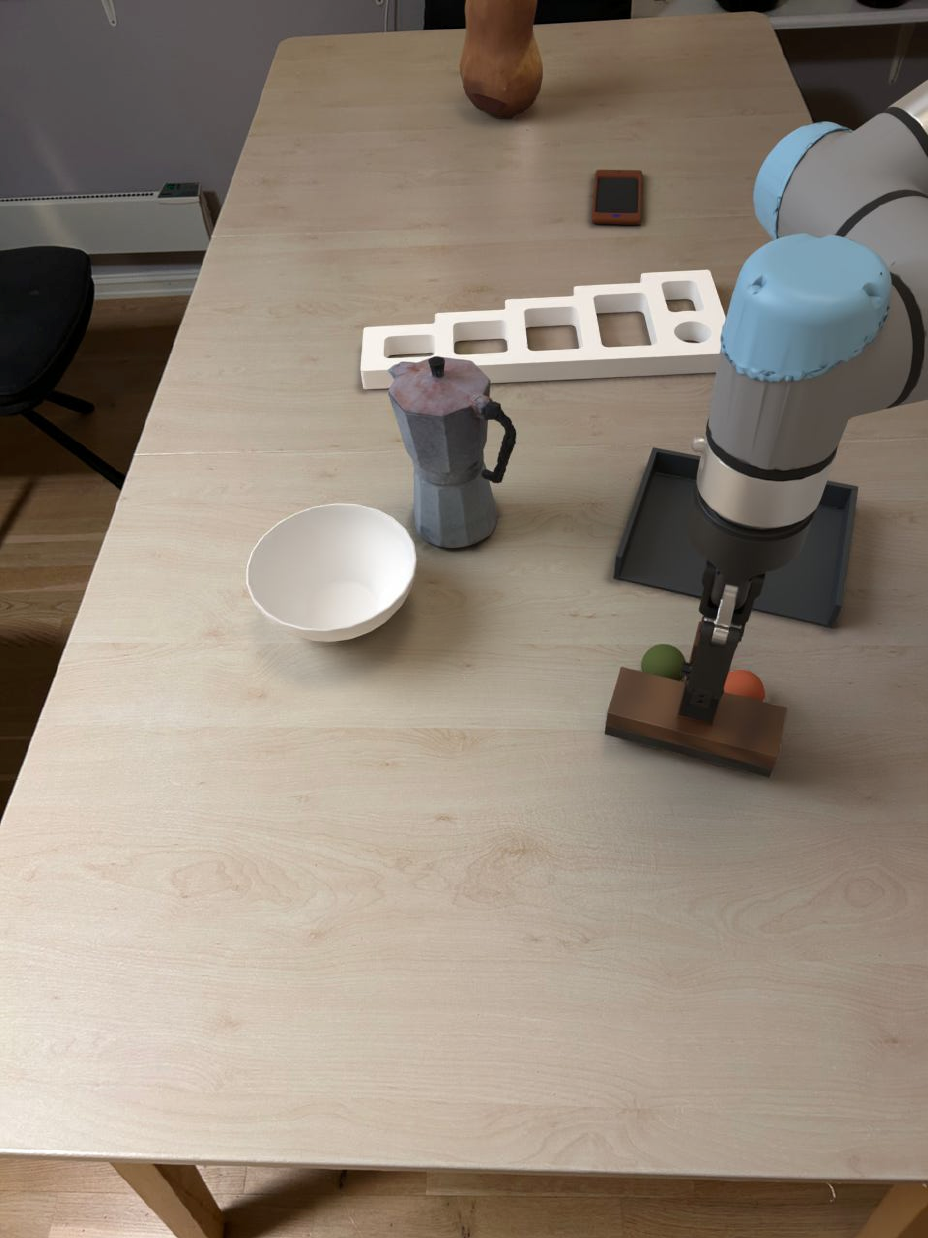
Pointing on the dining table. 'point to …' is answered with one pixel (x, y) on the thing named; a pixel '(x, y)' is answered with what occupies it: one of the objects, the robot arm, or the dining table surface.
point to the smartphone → (617, 197)
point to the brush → (696, 722)
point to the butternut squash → (501, 56)
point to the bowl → (332, 571)
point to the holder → (580, 312)
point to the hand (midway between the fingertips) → (699, 699)
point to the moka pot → (450, 447)
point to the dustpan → (674, 564)
